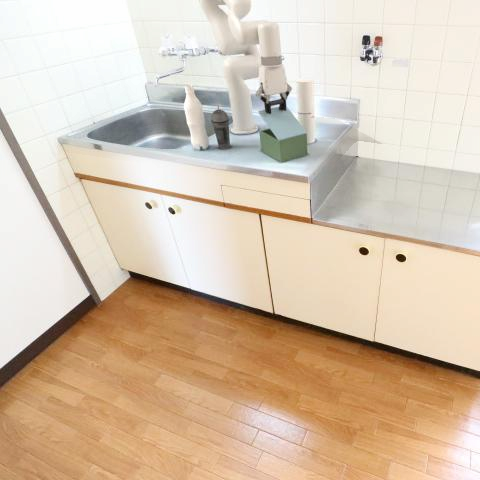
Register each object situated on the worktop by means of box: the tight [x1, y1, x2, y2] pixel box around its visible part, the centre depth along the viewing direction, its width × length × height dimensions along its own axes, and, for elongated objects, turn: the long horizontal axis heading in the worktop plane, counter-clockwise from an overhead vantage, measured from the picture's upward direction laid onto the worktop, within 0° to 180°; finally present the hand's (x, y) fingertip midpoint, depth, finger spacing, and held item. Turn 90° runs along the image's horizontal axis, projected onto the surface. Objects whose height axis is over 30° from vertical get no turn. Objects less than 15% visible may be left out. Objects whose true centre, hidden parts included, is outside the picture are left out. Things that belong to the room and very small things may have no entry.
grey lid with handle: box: [257, 98, 307, 141], centre depth 143 cm, size 16×13×6 cm
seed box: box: [258, 128, 309, 163], centre depth 150 cm, size 16×13×8 cm
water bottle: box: [183, 84, 210, 151], centre depth 151 cm, size 7×7×25 cm
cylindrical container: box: [295, 77, 316, 145], centre depth 156 cm, size 7×7×25 cm
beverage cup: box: [210, 98, 231, 150], centre depth 153 cm, size 7×7×20 cm
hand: (276, 111), depth 146 cm, fingers closed on grey lid with handle, 6 cm apart
